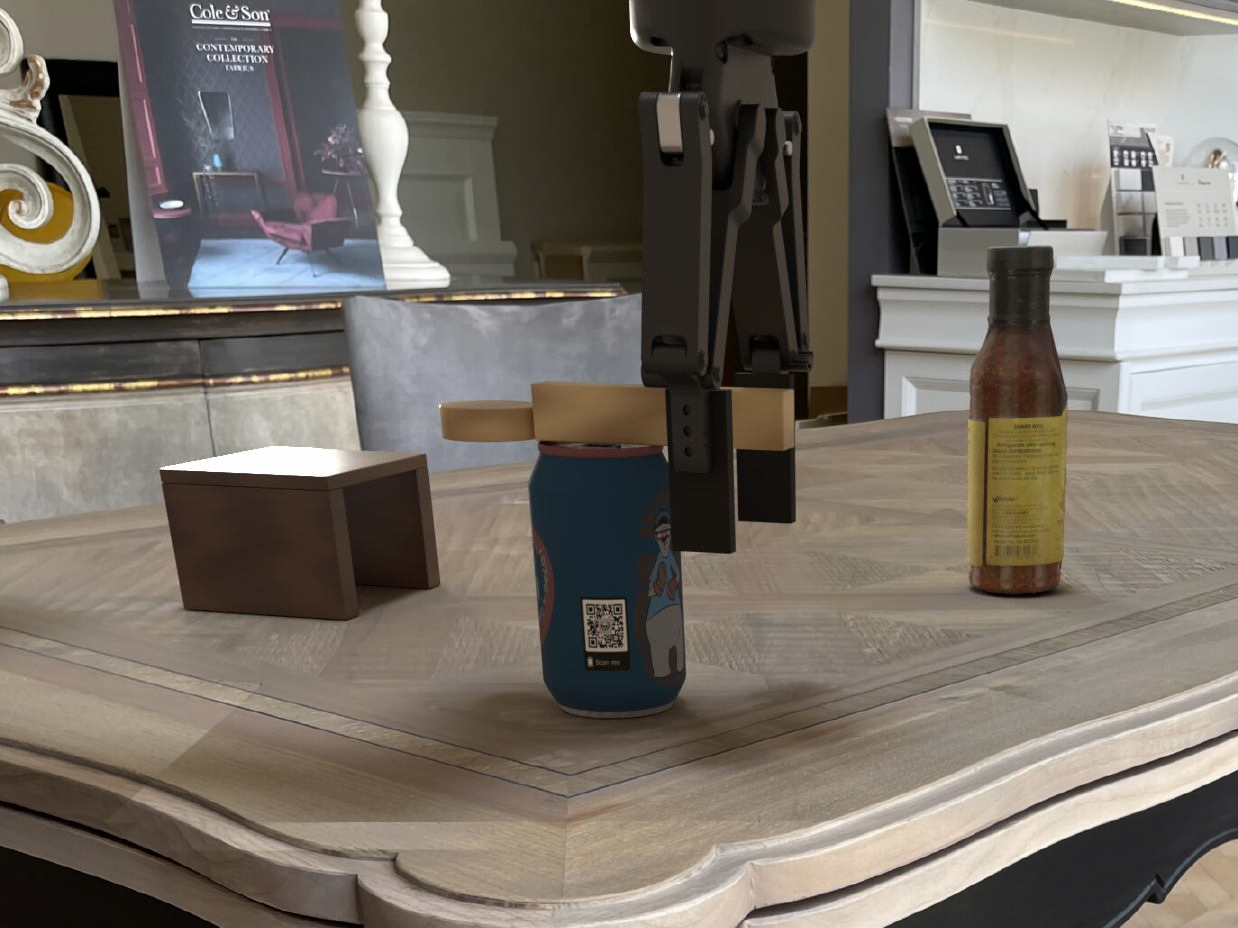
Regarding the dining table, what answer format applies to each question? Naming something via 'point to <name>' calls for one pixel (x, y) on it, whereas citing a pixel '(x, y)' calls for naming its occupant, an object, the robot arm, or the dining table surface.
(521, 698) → the dining table surface
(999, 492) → the sauce bottle
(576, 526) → the soda can
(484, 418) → the wooden stepped block
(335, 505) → the shelf
